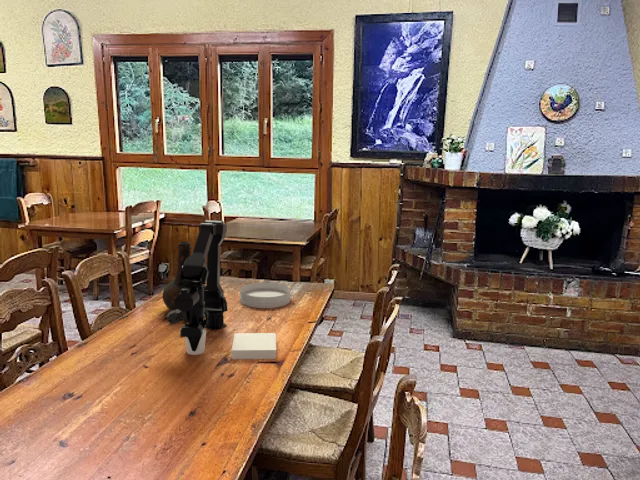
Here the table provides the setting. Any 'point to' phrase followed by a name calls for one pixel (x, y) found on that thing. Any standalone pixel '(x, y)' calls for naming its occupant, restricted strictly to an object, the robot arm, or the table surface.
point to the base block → (254, 346)
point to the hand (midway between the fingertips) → (195, 346)
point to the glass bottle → (172, 288)
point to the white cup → (200, 346)
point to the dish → (265, 295)
